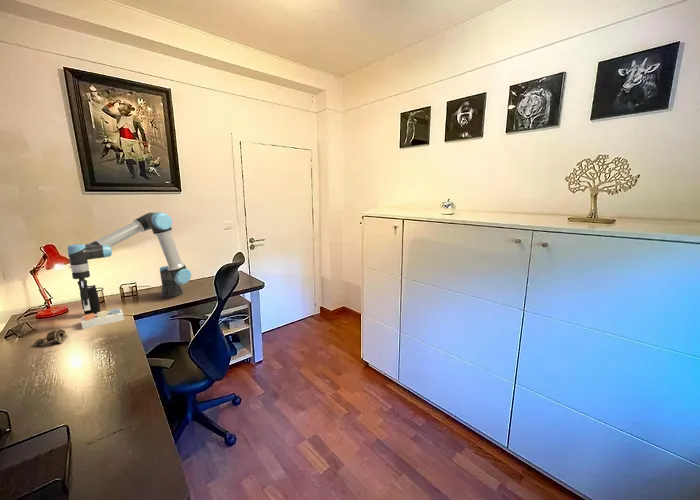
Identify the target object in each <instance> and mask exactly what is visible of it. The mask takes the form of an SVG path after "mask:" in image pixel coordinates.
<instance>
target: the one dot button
mask: <svg viewBox="0 0 700 500" xmlns="http://www.w3.org/2000/svg"><path fill="white" fill-rule="evenodd" d="M119 309H120V308H119V307H116V308H111V309H110V310H109V311H110V313H111V315H112V314H117V313H120V311H119Z"/></svg>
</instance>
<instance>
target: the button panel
mask: <svg viewBox="0 0 700 500" xmlns="http://www.w3.org/2000/svg"><path fill="white" fill-rule="evenodd" d="M119 311H120V313H117V314H112V315H111V313H110V310H107V316H103V317H98V315H97V314H94V316H95V318H93V319H89V320H84V316H81V327H82V330H86V329H91V328H94V327H99V325H100V326H104V325H107V324H112V323H116V322H120V321H124V320H125V317H124V313H123V310H122V308H119Z"/></svg>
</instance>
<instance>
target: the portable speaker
mask: <svg viewBox="0 0 700 500" xmlns="http://www.w3.org/2000/svg"><path fill="white" fill-rule="evenodd" d="M96 287H97V286H96V285H95V284H94V285H93V284H92V285H87V293H88V297H90V298H88V299H89V304H90V310H87V311H84V306H83V300H82V301H81V299H82V295H81V290H80V289H79V295H80V301H81V302H80V303H81V306H82V309H83V313H84V315H86V314H91V313H94V314H97V312H101V306H100V305H101V304H100V299H99V294H98V290H97V288H96Z"/></svg>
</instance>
